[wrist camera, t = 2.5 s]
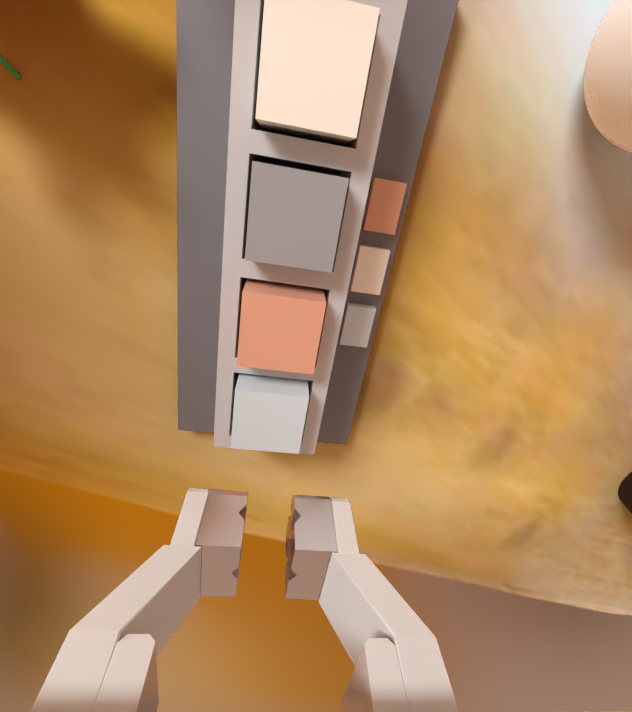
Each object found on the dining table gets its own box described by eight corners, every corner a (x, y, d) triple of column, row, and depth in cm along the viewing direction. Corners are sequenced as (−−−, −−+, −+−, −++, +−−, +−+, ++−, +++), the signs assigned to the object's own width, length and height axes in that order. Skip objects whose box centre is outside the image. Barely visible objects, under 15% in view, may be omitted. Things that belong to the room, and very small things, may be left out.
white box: (238, 411, 27) (230, 448, 23) (242, 358, 25) (234, 390, 22) (297, 417, 28) (298, 453, 24) (306, 365, 26) (309, 397, 22)
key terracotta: (244, 337, 24) (236, 365, 21) (249, 271, 22) (242, 291, 19) (310, 345, 25) (313, 374, 21) (320, 282, 23) (326, 302, 20)
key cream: (261, 127, 19) (255, 118, 16) (271, 19, 17) (265, -20, 14) (344, 143, 20) (356, 138, 16) (362, 40, 18) (379, 8, 14)
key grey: (252, 245, 22) (244, 260, 18) (259, 161, 20) (252, 160, 16) (325, 256, 22) (331, 272, 19) (338, 176, 20) (349, 178, 17)
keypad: (183, 418, 31) (161, 470, 26) (184, -78, 18) (140, -181, 13) (344, 433, 33) (354, 484, 28) (452, -9, 20) (511, -74, 15)
